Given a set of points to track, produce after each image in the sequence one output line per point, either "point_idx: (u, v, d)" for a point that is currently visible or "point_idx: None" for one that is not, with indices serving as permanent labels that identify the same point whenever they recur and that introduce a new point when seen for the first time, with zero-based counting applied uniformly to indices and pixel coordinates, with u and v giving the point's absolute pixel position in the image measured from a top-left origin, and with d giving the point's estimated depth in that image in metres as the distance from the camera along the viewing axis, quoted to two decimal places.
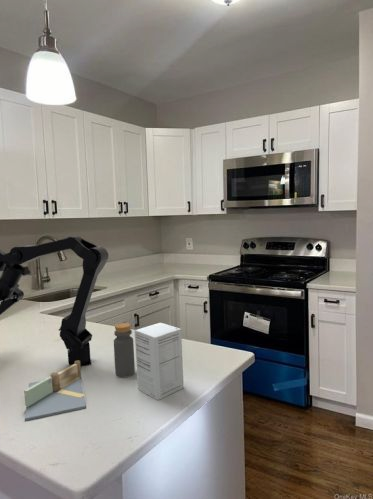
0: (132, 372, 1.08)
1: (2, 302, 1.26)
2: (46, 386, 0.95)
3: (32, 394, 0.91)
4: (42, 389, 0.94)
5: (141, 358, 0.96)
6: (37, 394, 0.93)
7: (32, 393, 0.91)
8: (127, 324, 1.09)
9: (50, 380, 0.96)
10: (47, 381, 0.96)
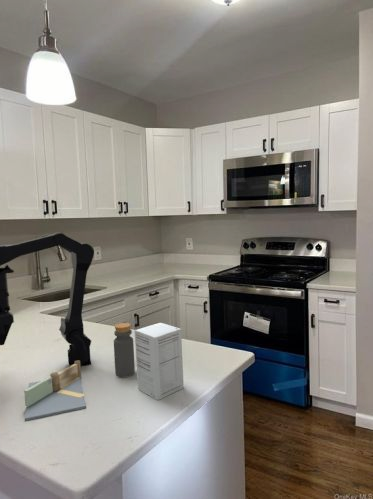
0: (132, 372, 1.08)
1: None
2: (46, 386, 0.95)
3: (32, 394, 0.91)
4: (42, 389, 0.94)
5: (141, 358, 0.96)
6: (37, 394, 0.93)
7: (32, 393, 0.91)
8: (127, 324, 1.09)
9: (50, 380, 0.96)
10: (47, 381, 0.96)
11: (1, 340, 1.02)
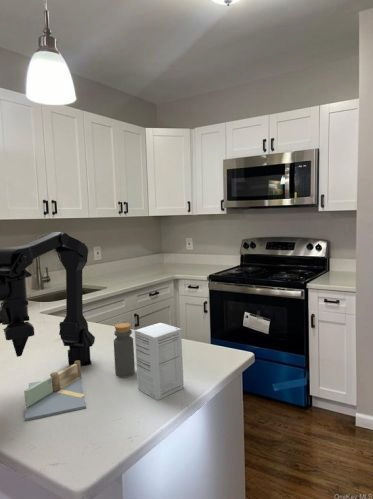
0: (132, 372, 1.08)
1: None
2: (46, 386, 0.95)
3: (32, 394, 0.91)
4: (42, 389, 0.94)
5: (141, 358, 0.96)
6: (37, 394, 0.93)
7: (32, 393, 0.91)
8: (127, 324, 1.09)
9: (50, 380, 0.96)
10: (47, 381, 0.96)
11: (18, 351, 0.93)
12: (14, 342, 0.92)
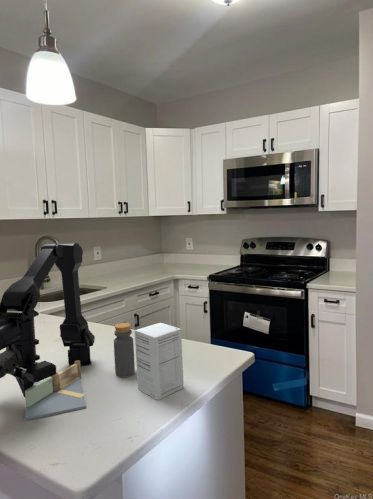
0: (132, 372, 1.08)
1: None
2: (46, 386, 0.95)
3: (33, 394, 0.91)
4: (42, 389, 0.94)
5: (141, 358, 0.96)
6: (38, 394, 0.92)
7: (33, 393, 0.91)
8: (127, 324, 1.09)
9: (50, 380, 0.96)
10: (47, 381, 0.96)
11: None
12: (25, 383, 0.91)
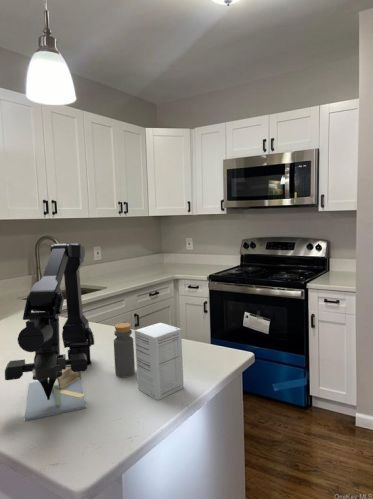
0: (132, 372, 1.08)
1: (47, 382, 0.90)
2: None
3: None
4: None
5: (141, 358, 0.96)
6: None
7: None
8: (127, 324, 1.09)
9: None
10: (57, 380, 0.96)
11: (50, 393, 0.91)
12: None
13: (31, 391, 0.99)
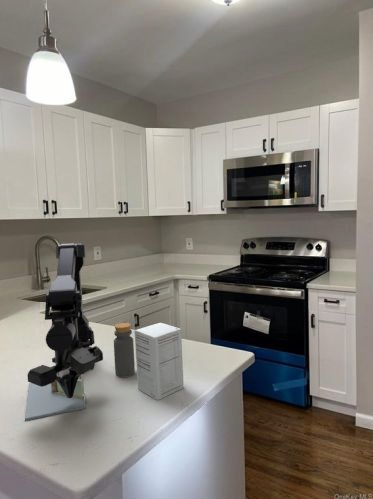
0: (132, 372, 1.08)
1: None
2: None
3: None
4: None
5: (141, 358, 0.96)
6: None
7: None
8: (127, 324, 1.09)
9: None
10: None
11: None
12: None
13: (31, 391, 0.99)
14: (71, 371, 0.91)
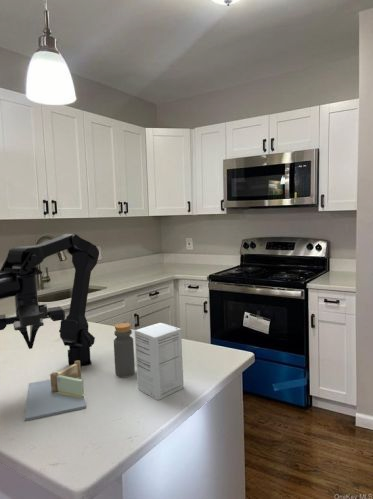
0: (132, 372, 1.08)
1: (27, 333, 0.99)
2: None
3: None
4: None
5: (141, 358, 0.96)
6: None
7: None
8: (127, 324, 1.09)
9: None
10: None
11: None
12: None
13: (31, 391, 0.99)
14: (31, 325, 0.99)
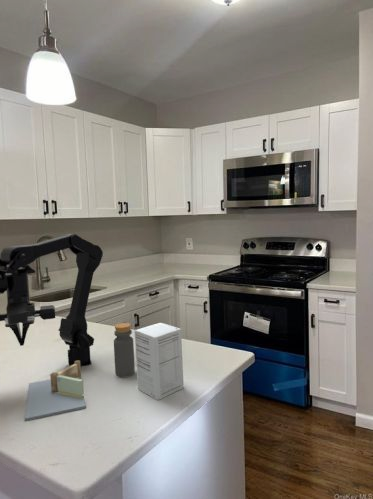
0: (132, 372, 1.08)
1: (19, 330, 1.01)
2: None
3: None
4: None
5: (141, 358, 0.96)
6: None
7: None
8: (127, 324, 1.09)
9: None
10: None
11: (24, 339, 1.03)
12: None
13: (31, 391, 0.99)
14: None
